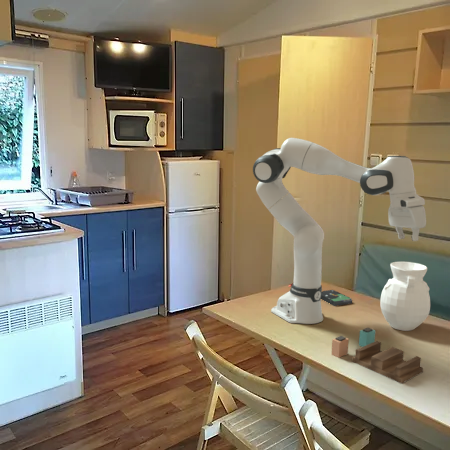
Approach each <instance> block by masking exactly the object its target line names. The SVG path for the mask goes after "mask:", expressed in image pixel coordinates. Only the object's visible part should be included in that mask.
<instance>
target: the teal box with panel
mask: <svg viewBox="0 0 450 450" xmlns="http://www.w3.org/2000/svg"><path fill="white" fill-rule="evenodd" d="M358 337H359V338H358V339H359V340H358V346H360V347H364V346H366V345H368V344H371V343H373V342H375V340H376V330H375V329H373V328H370V327H366V328H365V327H364V328H363V329H360V330H359V336H358Z"/></svg>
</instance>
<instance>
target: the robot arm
mask: <svg viewBox="0 0 450 450" xmlns="http://www.w3.org/2000/svg"><path fill="white" fill-rule="evenodd" d="M291 168H295V169H298V170H300V171H303V172H307V173H309V174H314V175H318V176H319V175H320V176H329V175H331V176H338V177H342V178H346V179H348V180H351V181H353V182H356V183H359V185H360V188H361V189H362V191H363V192H364V193H366V195H370V196H379V195H384V194H386V193H387V192H388V193H389V202H390V204H389V207H388V211H387V216H388V224H389V226H390V227H395V231H396V233H397V234H398V235H397V237H398V239H399V240H404V239H405V238H406V236H405V235H406V234H405V233H404V229H403V228H406V229H411V232H412V235H411V240H412V242H418V241H419V240H420V239H419V236H420V235H419V234H420V230H421V229H424V228H426V225H427V214H426V209H425V204H426V200H425V198H423V197H422V196H420V195H419V194H418V193H417V189H416V187H415V170H414V167H413V162H412V160H411V158H409V157H408V156H406V155H389V156H387V157H386V158H385V159H384V160H383V161H382V162H380V163H379V164H377V165H375V166H374V167H366V166H363V165H361V164H357V163H355V162H351V161H349V160H346V159H344V158H343V157H341V156H339V155H338V154H336V153H334V152H333V151H331V150H330V149H328V148H326V147H325V146H322V145H320V144H318V143H315V142H312V141H310V140H308V139H307V140H306V139H302V138H298V137H297V138H296V137H288V138H287V139H285V140H284V141H283V143H282V144H281V146H280V147H279V148H277V147H276V148H273V149H272V150H269V151H267V152H265V153H264V154H263V155H261V156H259V157H258V158H257V159H256V160H255V162H254V163H253V166H252V174H253V176H254V178H255V179H256V180H257V181H258V183H257V185H256V188H255V191H256V194H257V195H258V197H259V199H260V201H261V203H262V204H263V205H264V206H265V208H266V209H267V210H268V212H269V213H270V214H271V215H272V217H274V219H275V220H276V221H277V223H278V224H279V225H280V226H281V227H283V228H284V229H285V230H286V231H288V232H289V233H290V235H292V236H293V268H294V269H293V282H292V283H289V284H288V288H290V289H289V291H288V292H287V291H286V292H285V293H284V294H283V295H281V296H279V298H278V299H277V301H276V305H275V306H273V307H272V308H271V309H270V312H271V313H272V314H274V315H276V316H277V317H280V318H281V319H283V320H285V321H286V322H288V323H291V324H304V325H311V324H312V325H313V324H318V323H320V322H321V323H322V321H323V320H324V316H323V312H322V311H323V310H322V300H321V294H322V291H323V288H322V287H323V286H322V269H323V263H322V262H323V260H322V259H323V257H322V256H323V244H324V241H325V231H324V230H323V228H322V227H321V225H319V223H318V221H316V220H315V219H314V218H313V216H311V214H310V213H308V212H307V211H306V210H305V209H304V208H303V206H301V205H300V203H299V202H298V201H297V199H295V197H294V196H293V195H292V194H291V193H290V192H289V190H288V188H286V187H285V185H284V183H283V179H284V178H286V176H287V174H288V173H289V172H290V170H291Z"/></svg>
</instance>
